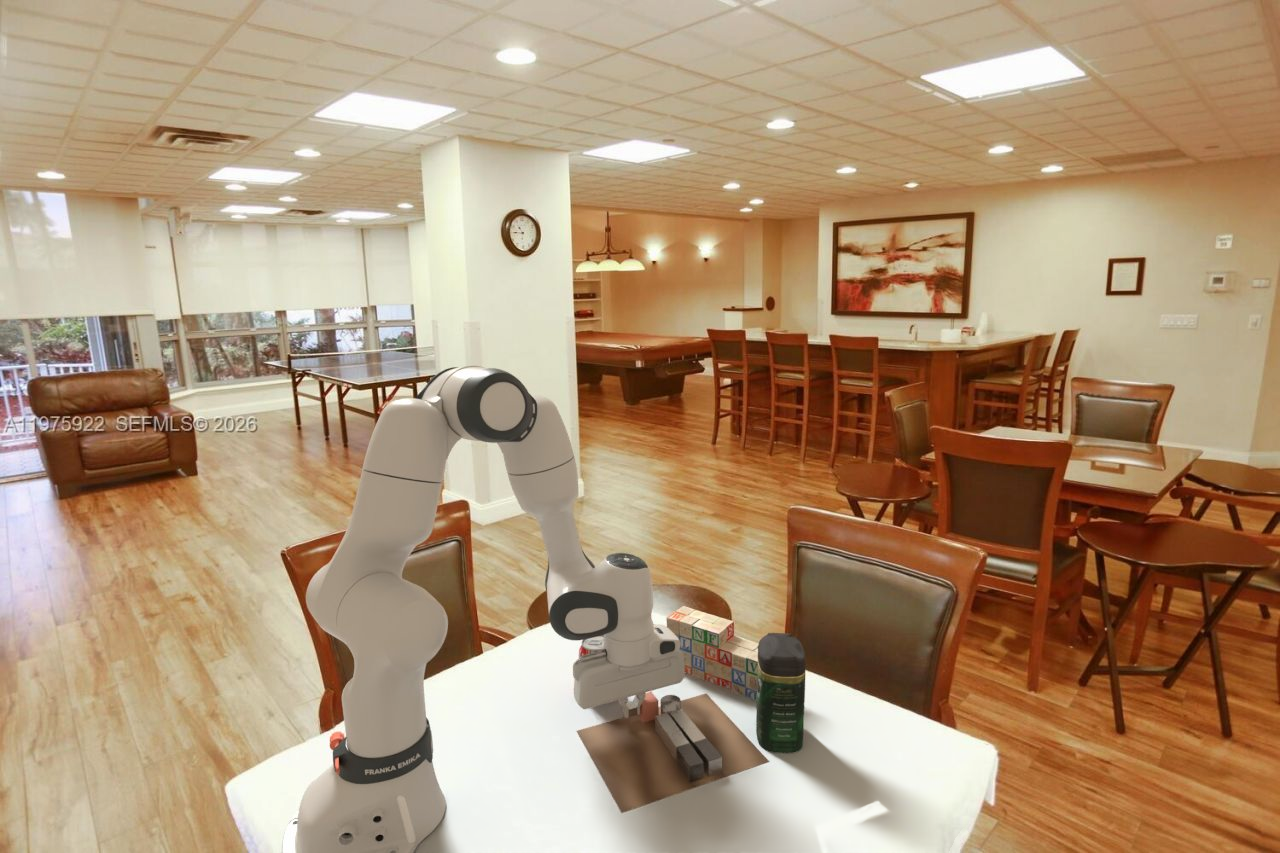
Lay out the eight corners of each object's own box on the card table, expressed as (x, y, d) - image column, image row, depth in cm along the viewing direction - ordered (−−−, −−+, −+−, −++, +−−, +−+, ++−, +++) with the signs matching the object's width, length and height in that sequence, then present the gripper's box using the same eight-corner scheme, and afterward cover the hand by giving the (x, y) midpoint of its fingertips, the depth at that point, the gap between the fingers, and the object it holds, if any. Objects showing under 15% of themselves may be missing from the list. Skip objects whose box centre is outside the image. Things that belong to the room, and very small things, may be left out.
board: (621, 819, 101) (621, 812, 101) (576, 736, 120) (576, 730, 120) (769, 767, 111) (769, 761, 111) (706, 699, 130) (706, 693, 130)
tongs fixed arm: (708, 777, 108) (708, 761, 107) (669, 726, 120) (669, 711, 120) (721, 772, 109) (721, 756, 108) (681, 723, 121) (681, 708, 121)
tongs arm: (689, 782, 107) (689, 762, 106) (646, 717, 123) (646, 700, 122) (722, 772, 109) (722, 753, 108) (675, 710, 125) (675, 693, 124)
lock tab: (643, 722, 122) (643, 704, 121) (636, 713, 124) (636, 695, 124) (658, 718, 123) (658, 700, 122) (651, 708, 126) (651, 691, 125)
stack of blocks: (775, 692, 132) (776, 634, 130) (759, 708, 127) (760, 648, 125) (683, 658, 145) (683, 604, 143) (666, 671, 140) (665, 616, 138)
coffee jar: (806, 760, 113) (809, 658, 109) (758, 758, 114) (759, 656, 110) (799, 723, 122) (801, 628, 119) (754, 722, 123) (755, 627, 119)
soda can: (612, 711, 127) (610, 653, 125) (575, 707, 128) (573, 649, 126) (621, 690, 134) (619, 633, 131) (586, 686, 135) (583, 630, 133)
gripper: (578, 667, 112) (581, 741, 115) (688, 639, 120) (689, 709, 123) (566, 649, 118) (570, 720, 121) (672, 623, 126) (673, 691, 129)
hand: (631, 714), depth 122 cm, fingers closed
